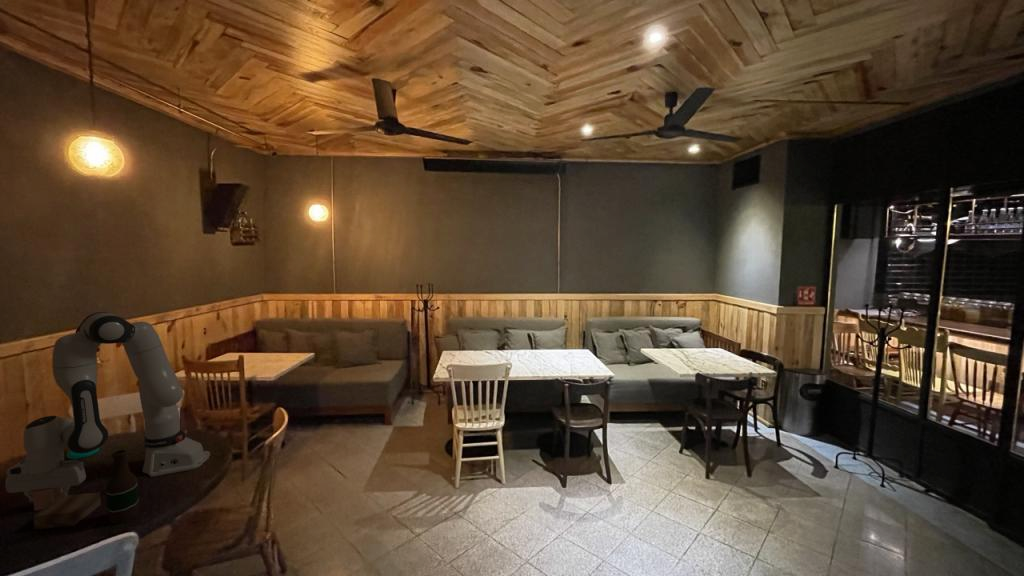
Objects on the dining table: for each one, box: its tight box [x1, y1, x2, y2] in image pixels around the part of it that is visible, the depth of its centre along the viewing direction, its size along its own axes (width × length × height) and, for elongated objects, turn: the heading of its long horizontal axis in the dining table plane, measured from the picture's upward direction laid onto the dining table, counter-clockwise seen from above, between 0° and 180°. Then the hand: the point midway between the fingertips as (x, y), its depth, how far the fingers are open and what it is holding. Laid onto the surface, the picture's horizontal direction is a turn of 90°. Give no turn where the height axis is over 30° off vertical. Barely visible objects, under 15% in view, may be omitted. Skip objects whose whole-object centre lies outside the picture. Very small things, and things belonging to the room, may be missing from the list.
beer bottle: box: [105, 449, 140, 525], centre depth 136 cm, size 8×8×24 cm
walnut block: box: [32, 492, 102, 530], centre depth 137 cm, size 11×11×5 cm
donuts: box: [66, 447, 101, 460], centre depth 175 cm, size 10×10×10 cm
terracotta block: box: [33, 487, 64, 512], centre depth 142 cm, size 5×5×7 cm
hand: (48, 498), depth 142 cm, fingers open, 7 cm apart
